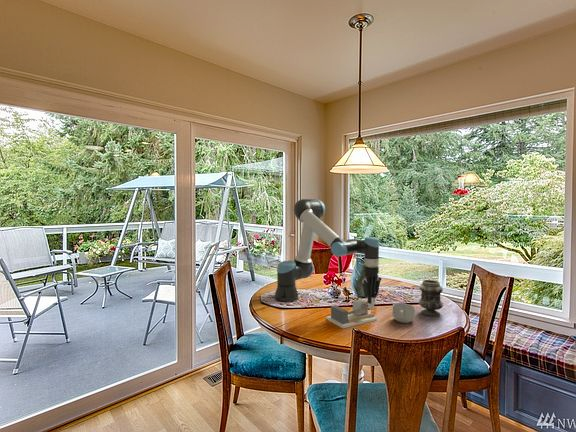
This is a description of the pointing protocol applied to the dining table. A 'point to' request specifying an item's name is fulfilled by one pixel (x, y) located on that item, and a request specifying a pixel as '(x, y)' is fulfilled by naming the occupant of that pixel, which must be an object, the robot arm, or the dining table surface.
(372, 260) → the robot arm
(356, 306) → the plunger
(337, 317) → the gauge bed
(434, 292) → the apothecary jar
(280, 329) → the dining table surface
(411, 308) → the teacup
